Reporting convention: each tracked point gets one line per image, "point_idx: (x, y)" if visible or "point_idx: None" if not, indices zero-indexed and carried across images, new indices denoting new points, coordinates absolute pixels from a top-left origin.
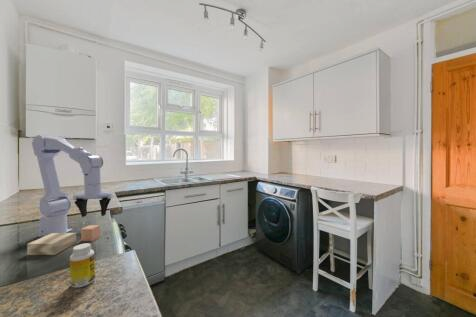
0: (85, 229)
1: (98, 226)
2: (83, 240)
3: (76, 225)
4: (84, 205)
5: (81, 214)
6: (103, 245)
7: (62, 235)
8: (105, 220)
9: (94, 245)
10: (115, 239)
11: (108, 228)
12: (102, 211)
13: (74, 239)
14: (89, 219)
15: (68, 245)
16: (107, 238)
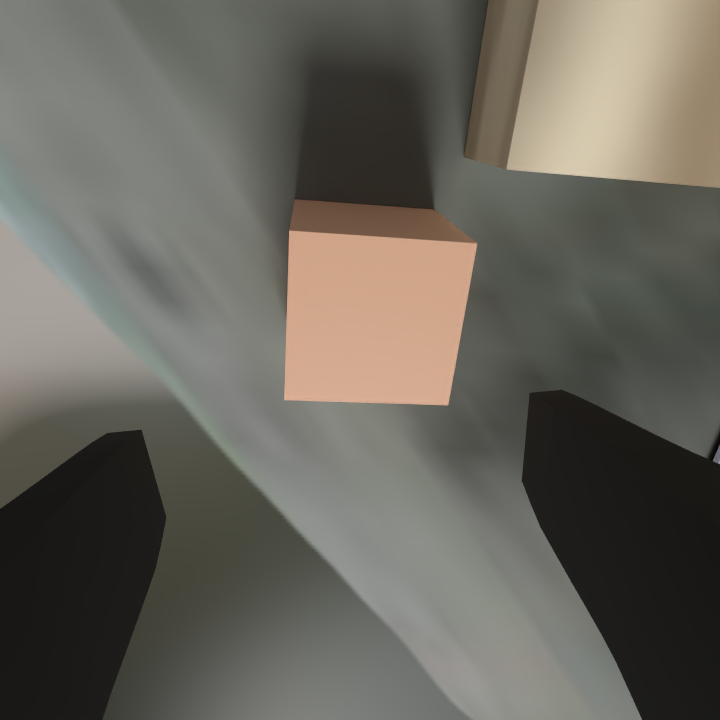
0: (401, 237)
1: (285, 371)
2: (411, 209)
3: None
4: (683, 670)
5: (597, 407)
6: (17, 11)
7: (667, 68)
8: (495, 699)
9: (157, 28)
10: (6, 218)
11: (340, 534)
12: (45, 490)
13: (486, 124)
14: None
15: (494, 6)
16: (146, 261)
